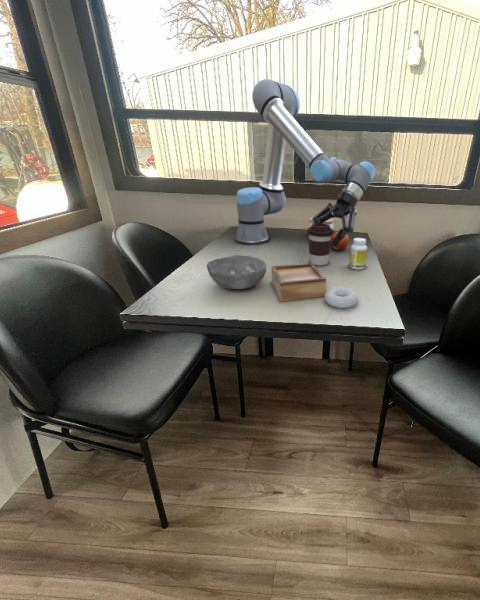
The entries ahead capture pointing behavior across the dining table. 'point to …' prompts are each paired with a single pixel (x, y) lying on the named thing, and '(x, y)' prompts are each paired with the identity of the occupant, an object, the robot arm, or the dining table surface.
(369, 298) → the dining table surface
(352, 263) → the pill bottle
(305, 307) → the dining table surface
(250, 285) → the bowl
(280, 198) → the robot arm
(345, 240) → the tomato
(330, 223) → the lidded bowl
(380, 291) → the dining table surface
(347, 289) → the donut
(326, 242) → the coffee cup
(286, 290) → the wooden box
